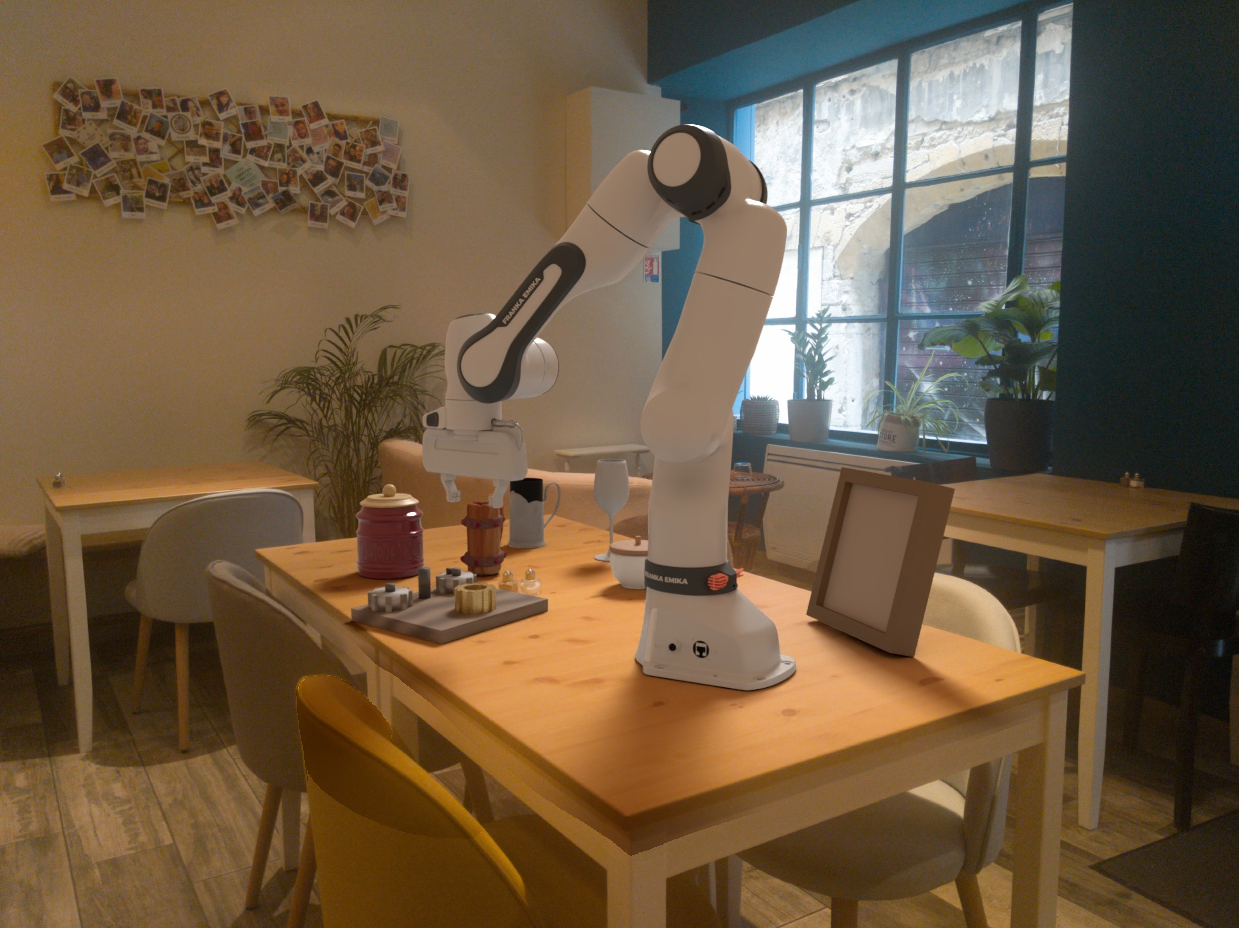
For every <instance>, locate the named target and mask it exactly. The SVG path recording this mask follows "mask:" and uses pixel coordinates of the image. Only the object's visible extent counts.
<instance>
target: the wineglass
mask: <svg viewBox="0 0 1239 928" xmlns="http://www.w3.org/2000/svg"><path fill="white" fill-rule="evenodd" d="M629 478H630V477H629V471H628V465H627V460H625V459H621V458H620V459H619V458H618V459H617V458H604V459H598V460H597V463H596V467H595V474H594V481H593V498H594V501H595V503H596V504H597V505H598V506H599V508H600V509H601V511H604V512H605V514H607V517H608V518H609V519H608V520H609V545H610V544H611V543H614V518H615V515H617V513H619V512H620V511H621V510H622V509H623V508H624V507H625V506H626V504H627V502H628V501H629V497H630V479H629ZM593 558H594V560H597V561H601V562H609V563H610V549H609V548H608V550H607V552H606V553H601V554H597V555H595V556H594V557H593Z"/></svg>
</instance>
